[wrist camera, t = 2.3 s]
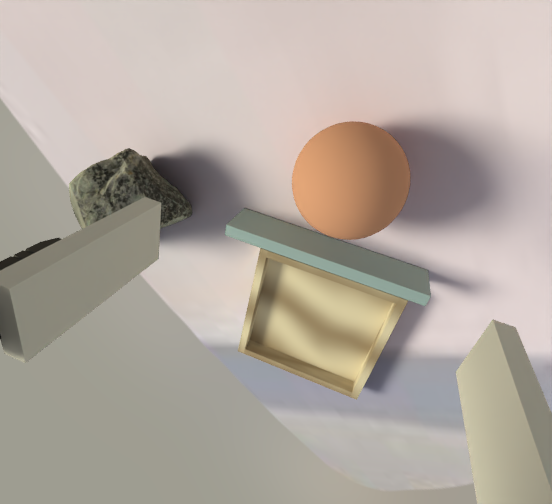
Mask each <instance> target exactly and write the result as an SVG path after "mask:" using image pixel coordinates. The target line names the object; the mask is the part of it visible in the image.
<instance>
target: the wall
mask: <svg viewBox="0 0 552 504" xmlns="http://www.w3.org/2000/svg"><path fill="white" fill-rule="evenodd" d="M225 235H226V236H229V237H232V238H234V239H237V240H240V241H243V242H246V243H249V244H251V245H254V246H257V247H260V248H263V249H265V250H268V251H271V252H274V253H277V254H279V255H282V256H285V257H288V258H291V259H294V260H296V261H299V262H302V263H305V264H308V265H310V266H313V267H316V268H319V269H322V270H325V271H327V272H330V273H333V274H336V275H339V276H341V277H344V278H347V279H350V280H353V281H355V282H358V283H361V284H364V285H367V286H370V287H372V288H375V289H378V290H381V291H384V292H386V293H389V294H392V295H395V296H398V297H401V298H403V299H406V300H409V301H412V302H415V303H417V304H420V305H423V306H426V304H427V302H428V301H429V299H430V297H431V293H430V283H429V274H428V270H426V269H423V268H420V267H417V266H414V265H411V264H408V263H405V262H402V261H399V260H396V259H393V258H390V257H387V256H384V255H381V254H378V253H376V252H373V251H370V250H367V249H364V248H361V247H358V246H355V245H352V244H349V243H346V242H343V241H340V240H337V239H334V238H331V237H328V236H325V235H322V234H319V233H316V232H314V231H311V230H308V229H305V228H302V227H299V226H296V225H293V224H290V223H287V222H284V221H281V220H278V219H275V218H272V217H269V216H266V215H263V214H260V213H257V212H254V211H252V210H249V209H246V208H244V209H243V210H242V211H241V212H240V213H239V214H237V215H236V216H235V217H234V218H233V219H232V220H231V221H230V222H229V223H228V224H227V225H226V230H225Z"/></svg>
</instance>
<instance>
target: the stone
mask: <svg viewBox="0 0 552 504" xmlns="http://www.w3.org/2000/svg"><path fill="white" fill-rule="evenodd" d="M69 193H70V201H71V204H72V207H73V211H74V214H75V216H76V218H77V220H78V222H79V224H80V226H81V228H82V229H83V228H85V227H87V226H89V225H91V224H93V223H95V222H97V221H99V220H101V219H103V218H105V217H107V216H109V215H111V214H112V213H114V212H116V211H118V210H120V209H122V208H124V207H126V206H128V205H130V204H132V203H134V202H136V201H138V200H140V199H142V198H144V197H146V198H149V199H152V200H155V201H158V202H161V219H160V229H161V228H163V227H166V226H168V225H171V224H174V223H176V222H179V221H182V220H183V219H186V218H187V217H189V216H191V215H192V210H191V205H190V203H189V202H188V201H187V200H186V199H185V198H184V197H183V195H182V194H181V193H180V192H179V191H178V190H177V188H176V187H174V186H172V185H170V184H169V183H168V181H167V180H166V179H164V178H163V177H161V176H160V175H159V173H158V172H157V171H156V170H154V168H153V167H152V165H151V162H150V160H149V159H148V158H147V157H146V156H141V155H139V154H138V153H137V152H136V151H134V150H131V149H130V148H128V149H125V150H124V151H121V152H120V153H117V154H116V155H114V156H113V157H111V158H110V159H107V160H103V161H100V162H98V163H96V164H93V165H91V166H90V167H88V168H87V169H86V170H84V171H82V172H81V173H79V174H78V175H77V176H76V177H75V178H74V179H73V180H72V181H71V182H70V183H69Z"/></svg>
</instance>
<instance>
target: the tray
mask: <svg viewBox="0 0 552 504" xmlns="http://www.w3.org/2000/svg"><path fill="white" fill-rule="evenodd" d="M407 302H408V300H406V299H403V298H401V297H398V296H395V295H392V294H389V293H386V292H384V291H381V290H378V289H375V288H372V287H370V286H367V285H364V284H361V283H358V282H355V281H353V280H350V279H347V278H344V277H341V276H339V275H336V274H333V273H330V272H327V271H325V270H322V269H319V268H316V267H313V266H310V265H308V264H305V263H302V262H299V261H296V260H294V259H291V258H288V257H285V256H282V255H279V254H277V253H274V252H271V251H268V250H265V249H263V248H260V253H259V258H258V262H257V267H256V271H255V276H254V280H253V285H252V289H251V294H250V299H249V303H248V308H247V312H246V317H245V321H244V326H243V330H242V335H241V340H240V344H239V349H238V351H239V352H241V353H244V354H246V355H249V356H251V357H254V358H256V359H259V360H261V361H263V362H266V363H268V364H271V365H273V366H276V367H278V368H281V369H283V370H285V371H288V372H290V373H293V374H295V375H298V376H300V377H303V378H305V379H307V380H310V381H312V382H315V383H317V384H320V385H322V386H325V387H327V388H329V389H332V390H334V391H337V392H339V393H342V394H344V395H347V396H349V397H351V398H354V399H356V400H357V398H358V396H359V394H360V392H361V390H362V388H363V387H364V385H365V383H366V381H367V379H368V377H369V375H370V373H371V371H372V369H373V367H374V365H375V364H376V362H377V360H378V358H379V356H380V354H381V352H382V350H383V348H384V346H385V344H386V342H387V340H388V339H389V337H390V335H391V333H392V331H393V329H394V327H395V325H396V323H397V321H398V319H399V317H400V316H401V314H402V312H403V310H404V308H405V306H406V304H407Z"/></svg>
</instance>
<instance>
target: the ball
mask: <svg viewBox="0 0 552 504" xmlns="http://www.w3.org/2000/svg"><path fill="white" fill-rule="evenodd" d="M409 187H410V169H409V164H408V161H407V158H406V155H405V153H404V151H403V149H402V148H401V146H400V145H399V143H398V142H397V141H396V140H395V139H394V138H393V137H392V136H391V135H390V134H389V133H387V132H386V131H384V130H383V129H381V128H379V127H377V126H374V125H372V124H368V123H364V122H343V123H339V124H335V125H333V126H330V127H328V128H326V129H324V130H322V131H320V132H319V133H318V134H316V135H315V136H314V137H313V138H312V139H310V140H309V142H308V143H307V144H306V145H305V146H304V148H303V149H302V151H301V152H300V154H299V156H298V158H297V160H296V163H295V166H294V170H293V176H292V189H293V195H294V200H295V202H296V205H297V207H298V209H299V211H300V213H301V214H302V216H303V217H304V219H305V220H306V221H307V222H308V223H309V224H310V225H311V226H312V227H314V228H315V229H316V230H318V231H320V232H321V233H323V234H325V235H328V236H330V237H334V238H338V239H347V240H352V239H360V238H365V237H368V236H371V235H373V234H375V233H377V232H379V231H381V230H382V229H384V228H385V227H387V226H388V225H389V224H390V223H391V222H392V221H393V220H394V219H395V218H396V217H397V215H398V214H399V212H400V211H401V210H402V208H403V206H404V204H405V202H406V199H407V196H408V192H409Z"/></svg>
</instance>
